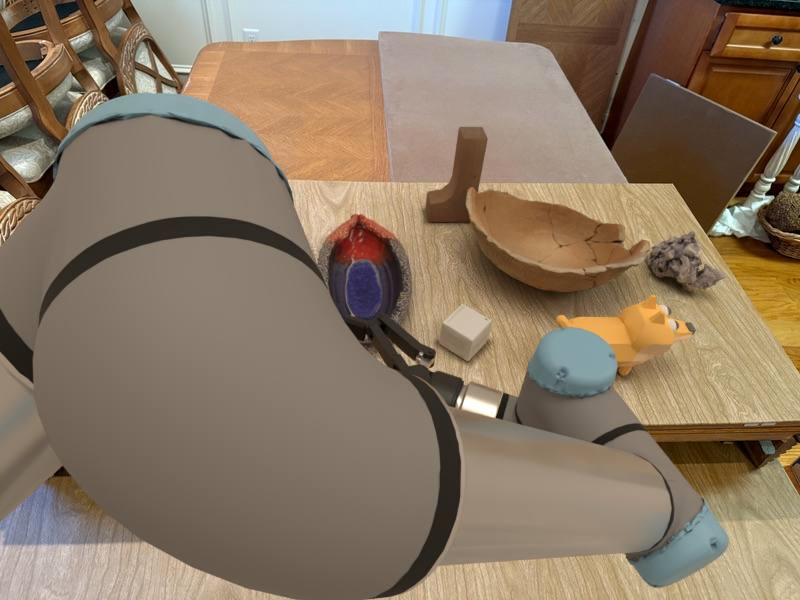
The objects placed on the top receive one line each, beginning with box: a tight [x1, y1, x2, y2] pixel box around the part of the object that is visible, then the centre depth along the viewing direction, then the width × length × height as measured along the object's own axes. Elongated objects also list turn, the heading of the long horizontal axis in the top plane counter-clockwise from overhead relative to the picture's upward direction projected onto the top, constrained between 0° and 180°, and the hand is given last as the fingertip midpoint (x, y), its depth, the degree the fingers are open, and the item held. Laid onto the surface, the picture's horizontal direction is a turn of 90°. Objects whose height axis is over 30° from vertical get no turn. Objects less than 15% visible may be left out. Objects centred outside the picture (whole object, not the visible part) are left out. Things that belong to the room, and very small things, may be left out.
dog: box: [555, 294, 697, 376], centre depth 77 cm, size 8×20×13 cm, turn 93°
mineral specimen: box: [647, 230, 727, 292], centre depth 95 cm, size 12×9×10 cm
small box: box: [438, 303, 493, 362], centre depth 82 cm, size 6×6×5 cm
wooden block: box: [424, 126, 488, 223], centre depth 101 cm, size 9×4×18 cm, turn 96°
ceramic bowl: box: [466, 187, 651, 293], centre depth 93 cm, size 30×27×15 cm
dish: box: [317, 213, 413, 347], centre depth 89 cm, size 16×31×5 cm, turn 3°
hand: (294, 354), depth 67 cm, fingers open, 13 cm apart
